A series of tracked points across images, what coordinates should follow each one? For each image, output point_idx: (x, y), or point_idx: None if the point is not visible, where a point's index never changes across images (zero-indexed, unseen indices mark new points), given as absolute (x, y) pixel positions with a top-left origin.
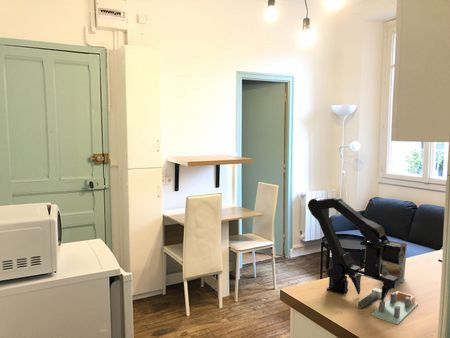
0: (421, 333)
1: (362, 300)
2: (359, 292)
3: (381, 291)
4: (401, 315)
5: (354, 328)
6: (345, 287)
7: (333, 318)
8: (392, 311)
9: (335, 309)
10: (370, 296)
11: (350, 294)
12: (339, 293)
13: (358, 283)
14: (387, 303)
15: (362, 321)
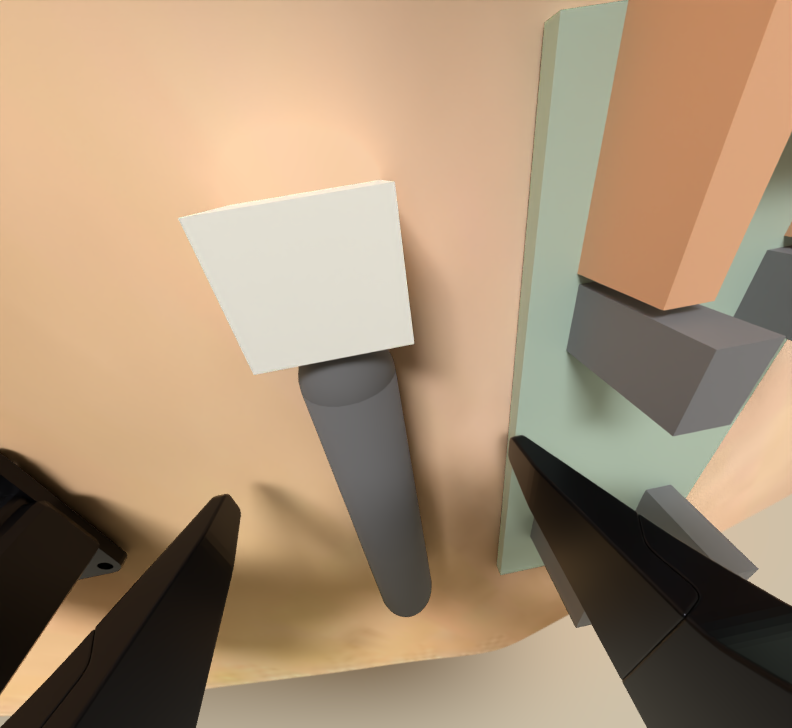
0: (772, 504)
1: (404, 605)
2: (229, 520)
3: (405, 277)
4: (685, 466)
5: (488, 641)
6: (49, 596)
7: (385, 660)
8: (616, 471)
9: (327, 638)
10: (398, 522)
11: (149, 491)
12: (113, 567)
13: (157, 711)
14: (546, 389)
15: (488, 610)
